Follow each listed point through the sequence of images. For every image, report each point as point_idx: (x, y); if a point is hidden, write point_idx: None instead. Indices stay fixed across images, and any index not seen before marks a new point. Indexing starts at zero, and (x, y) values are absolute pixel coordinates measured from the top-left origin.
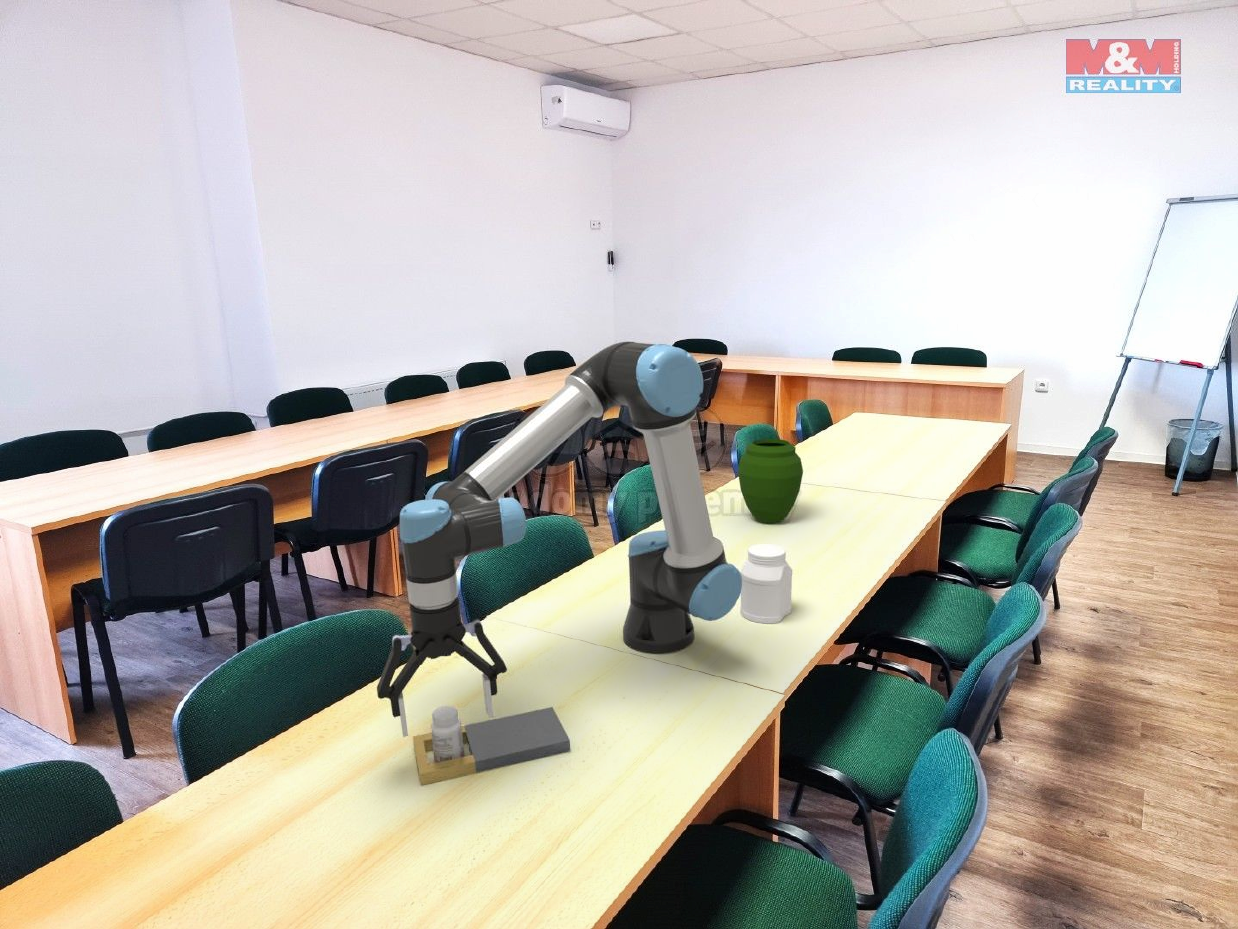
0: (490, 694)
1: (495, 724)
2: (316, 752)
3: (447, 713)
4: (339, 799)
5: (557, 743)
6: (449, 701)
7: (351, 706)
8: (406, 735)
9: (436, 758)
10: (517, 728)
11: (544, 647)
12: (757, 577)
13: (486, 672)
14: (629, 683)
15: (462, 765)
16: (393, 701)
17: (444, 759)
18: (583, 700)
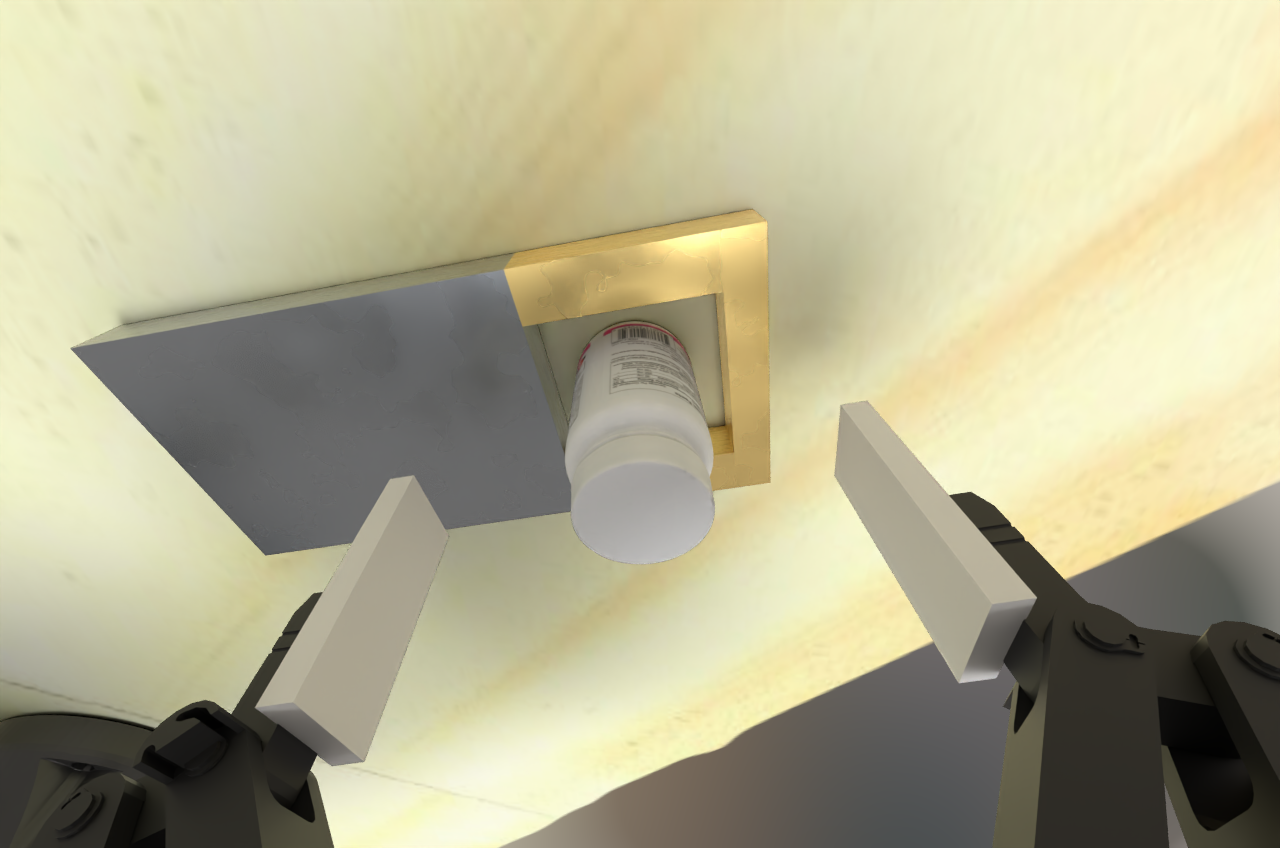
0: (324, 594)
1: (461, 498)
2: (1061, 480)
3: (626, 506)
4: (1098, 186)
5: (126, 336)
6: (643, 623)
7: (904, 635)
8: (851, 406)
9: (684, 352)
10: (363, 464)
11: (416, 751)
12: None
13: (226, 804)
14: (91, 628)
15: (562, 256)
16: (1052, 593)
17: (650, 335)
18: (214, 581)
